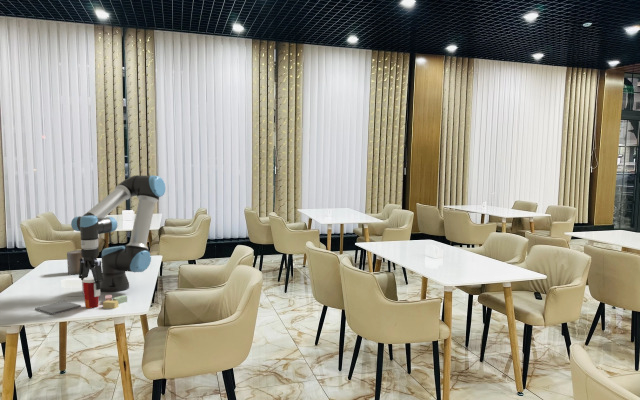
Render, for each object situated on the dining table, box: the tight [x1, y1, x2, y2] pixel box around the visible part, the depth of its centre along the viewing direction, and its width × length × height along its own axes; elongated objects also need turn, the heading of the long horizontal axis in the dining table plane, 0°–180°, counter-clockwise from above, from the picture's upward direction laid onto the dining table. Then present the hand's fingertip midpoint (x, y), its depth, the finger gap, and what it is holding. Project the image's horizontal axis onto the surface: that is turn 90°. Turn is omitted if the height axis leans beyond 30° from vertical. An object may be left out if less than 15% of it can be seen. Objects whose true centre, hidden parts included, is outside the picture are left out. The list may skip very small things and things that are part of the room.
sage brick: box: [112, 294, 128, 305], centre depth 233 cm, size 6×3×3 cm, turn 148°
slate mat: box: [34, 300, 82, 316], centre depth 224 cm, size 14×14×1 cm
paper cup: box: [81, 276, 100, 309], centre depth 226 cm, size 8×8×14 cm
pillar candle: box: [66, 249, 84, 275], centre depth 295 cm, size 10×10×15 cm
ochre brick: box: [102, 300, 119, 309], centre depth 226 cm, size 6×3×3 cm, turn 81°
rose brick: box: [104, 294, 113, 301], centre depth 234 cm, size 6×3×3 cm, turn 24°
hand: (91, 294), depth 226 cm, fingers open, 9 cm apart
